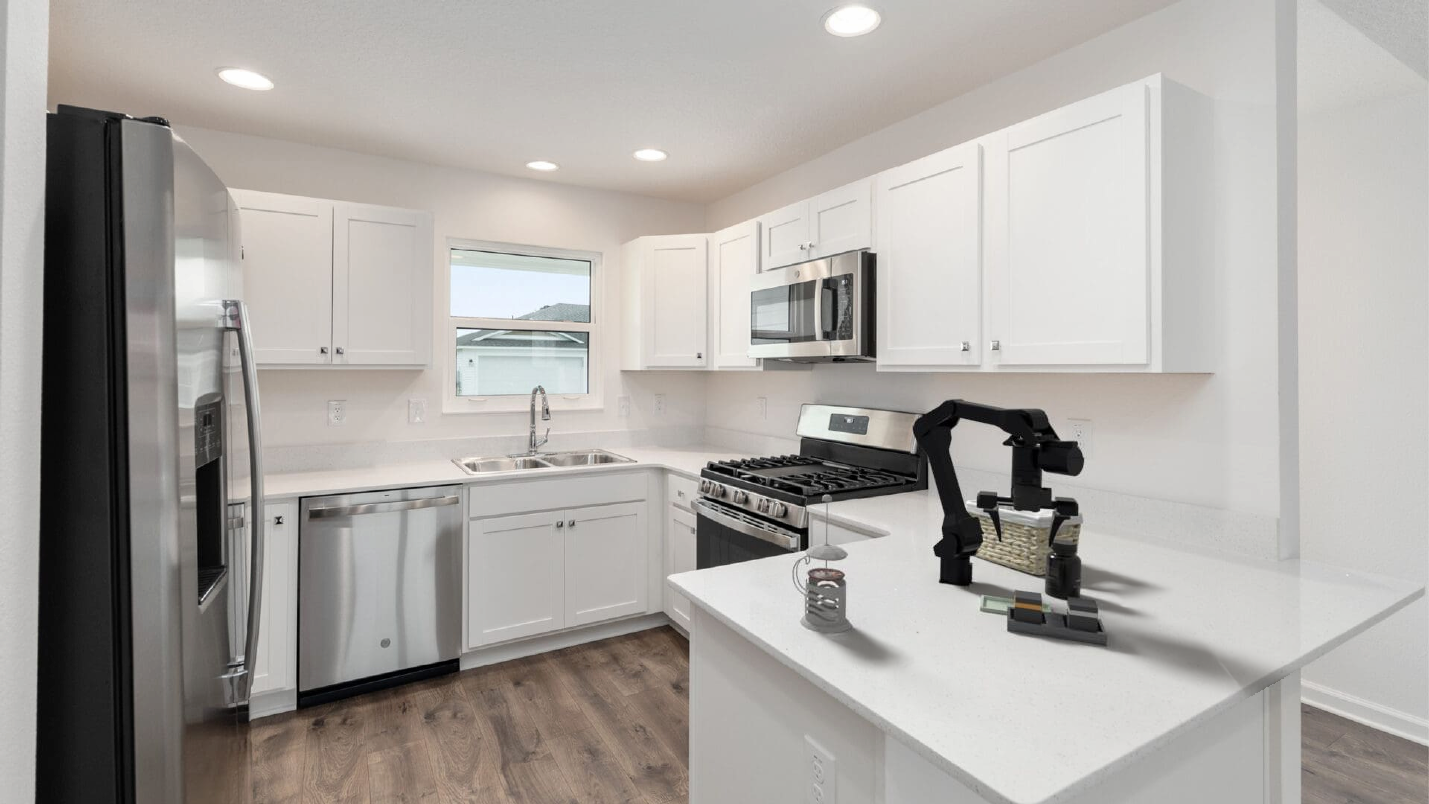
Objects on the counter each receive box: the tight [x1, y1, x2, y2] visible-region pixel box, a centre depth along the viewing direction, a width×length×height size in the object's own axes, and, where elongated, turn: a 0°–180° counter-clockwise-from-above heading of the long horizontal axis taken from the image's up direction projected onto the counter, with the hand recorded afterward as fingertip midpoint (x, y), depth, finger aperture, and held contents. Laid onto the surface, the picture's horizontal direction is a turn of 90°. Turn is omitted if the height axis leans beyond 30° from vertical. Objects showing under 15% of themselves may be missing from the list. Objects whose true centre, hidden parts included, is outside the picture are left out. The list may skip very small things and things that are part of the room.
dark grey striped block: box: [1014, 589, 1043, 623], centre depth 124 cm, size 5×5×6 cm
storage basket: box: [965, 495, 1084, 576], centre depth 168 cm, size 24×16×15 cm
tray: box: [979, 594, 1052, 616], centre depth 133 cm, size 13×8×1 cm, turn 66°
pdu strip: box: [1006, 606, 1108, 647], centre depth 122 cm, size 16×8×2 cm, turn 66°
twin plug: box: [1066, 597, 1099, 632], centre depth 120 cm, size 5×5×6 cm
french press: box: [791, 494, 852, 634], centre depth 126 cm, size 10×12×25 cm
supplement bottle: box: [1044, 540, 1082, 601], centre depth 142 cm, size 7×7×12 cm
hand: (1024, 544), depth 135 cm, fingers open, 9 cm apart
